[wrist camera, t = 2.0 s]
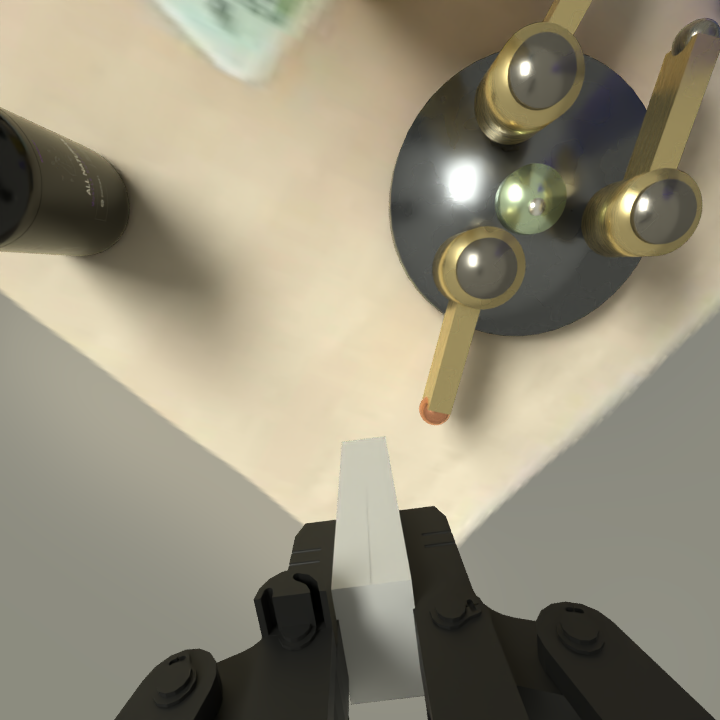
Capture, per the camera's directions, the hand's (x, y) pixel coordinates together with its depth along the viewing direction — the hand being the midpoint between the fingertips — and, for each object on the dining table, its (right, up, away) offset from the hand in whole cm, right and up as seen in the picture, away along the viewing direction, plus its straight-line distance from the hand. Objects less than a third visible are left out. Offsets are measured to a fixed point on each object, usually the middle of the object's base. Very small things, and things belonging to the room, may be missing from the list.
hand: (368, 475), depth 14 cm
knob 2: (+16, +16, +10) cm, 25 cm away
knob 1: (+6, +6, +12) cm, 15 cm away
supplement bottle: (-19, +14, +13) cm, 27 cm away
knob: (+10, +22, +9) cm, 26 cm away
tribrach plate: (+10, +14, +13) cm, 22 cm away
